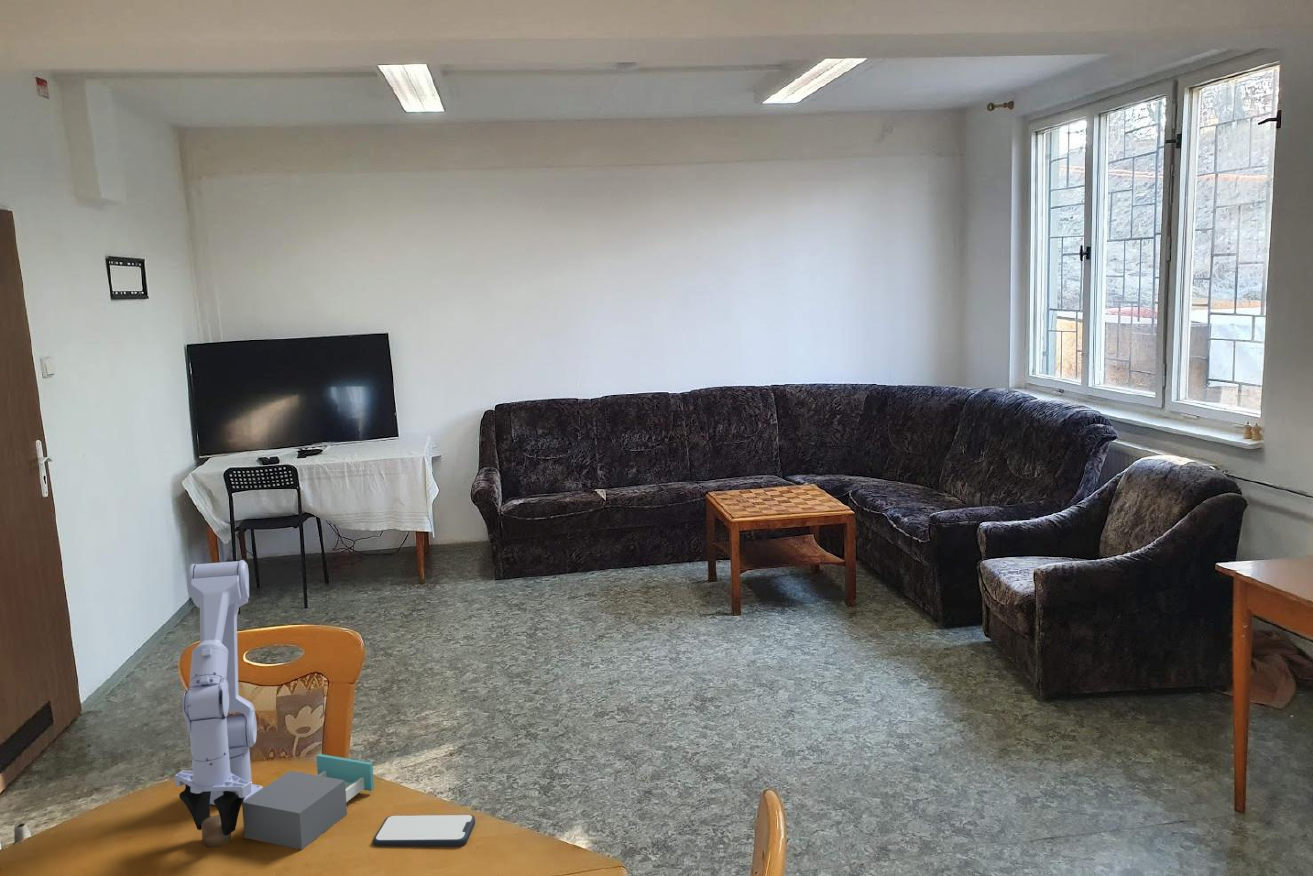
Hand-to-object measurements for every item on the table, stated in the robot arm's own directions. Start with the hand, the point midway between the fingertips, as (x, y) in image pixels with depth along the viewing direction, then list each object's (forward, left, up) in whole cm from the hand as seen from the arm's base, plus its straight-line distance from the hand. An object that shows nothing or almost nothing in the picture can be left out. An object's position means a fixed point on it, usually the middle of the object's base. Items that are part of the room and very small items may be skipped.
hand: (216, 829), depth 165 cm
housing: (+10, +8, -2) cm, 13 cm away
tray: (+10, +16, -1) cm, 19 cm away
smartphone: (+33, +13, -3) cm, 35 cm away
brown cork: (0, 0, -2) cm, 2 cm away
